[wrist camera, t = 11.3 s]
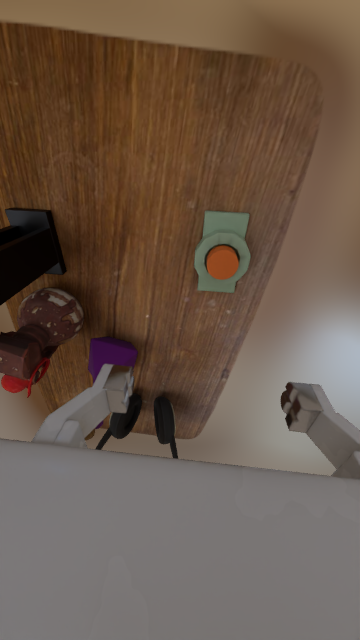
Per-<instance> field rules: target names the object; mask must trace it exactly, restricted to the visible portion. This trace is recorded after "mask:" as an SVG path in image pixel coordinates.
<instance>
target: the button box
mask: <svg viewBox="0 0 360 640" xmlns="http://www.w3.org/2000/svg"><path fill="white" fill-rule="evenodd" d="M248 220H249V214H248V213H238V212H221V211H205V217H204V227H203V238H202V239H201V241H200V242H199V244H198V245H197V247H196V249H195V261H194V267H195V269H196V271H197V273H198V275H199V279H198V290H202V291H216V292H229V293H234V289H235V285H236V281H238V280H239V279H240V278H241V277H242V276H243V274H244V273H245V272H246V271H247V269H248V266H249V261H250V257H251V256H250V252H249V249H248V247H247V244H246V242H245V235H246V230H247V225H248ZM221 245H225V246H229V247H231V248H232V249H233V250H234V251H235V253H236V255H237V258H238V262H239V266H238V269H237V271H236V273H235V274H234V275H233V276H232V277H230V278H228V279H224V280H219V279H216V278H214V277H212V276H211V275H210V274H209V272H208V270H207V256H208V254H209V252H210V251H211V250H212V249H213V248H215V247H217V246H221Z"/></svg>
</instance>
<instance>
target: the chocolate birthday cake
mask: <svg viewBox="0 0 360 640" xmlns="http://www.w3.org/2000/svg"><path fill="white" fill-rule="evenodd" d="M17 320H18V325H19V328H20V329H19V330H18V331H17V332H13V331H12V332H8V333H3V332H1V334H0V373H4V374H5V375H4V376H3V377H2V380H1V384H2V386H3V388H4V389H5V390H7V391H9V392H12V393H17V392H20V391H22V390H23V389H25V388H26V387H27V388H28V397H29V396H30V394H31V385H33V384H36V383H37V382H38V381H39V380H40V379H41V378H42V376H43V375H44V374H45V372H46V371H47V369H48V367H49V364H50V357H51V356H52V354H53V353H54V352H55V351H56V349H57V348H58V346H59V345H61V344H64V343H66V342H68V341H70V340H71V339H73V338H74V337H75V336H76V335H77V334H78V332H79V331H80V329H81V328H82V324H83V321H84V312H83V308H82V306H81V304H80V303H79V301H78V300H77V299H76V298H75V297H74V296H73V295H71V294H70V293H68V292H67V291H64V290H62V289H58V288H43V289H40V290H37V291H35V292H33V293H31V294H30V295H29V296H27V297H26V298H25V299H24V300H23V302H22V303H21V305H20V307H19V309H18V316H17ZM40 367H42V368H43V369H42V371H41V374H40V372H39V371H38V370H39V368H40ZM39 375H40V377H39ZM38 377H39V378H38Z"/></svg>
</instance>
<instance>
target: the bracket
mask: <svg viewBox="0 0 360 640" xmlns="http://www.w3.org/2000/svg"><path fill="white" fill-rule="evenodd" d="M5 211H6V214H7V217H8V220H9V222H10V225H11V226H8V227H5V228H2V229H0V305H2V304H3V303H4V302H6V301H7V300H9V299H10V298H11V297H13V296H14V295H15V294H17V293H18V292H19V291H21V290H22V289H24V288H25V287H26V286H28V285H29V284H30V283H32V282H33V281H34V280H36V279H37V278H39V277H40V276H41V275H43V274H44V273H45V274H59V275H63V274H64V273H65V272H67V270H66V267H65V263H64V259H63V255H62V251H61V248H60V244H59V240H58V236H57V232H56V229H55V225H54V221H53V217H52V213H51V210H39V209H23V208H9V209H5Z"/></svg>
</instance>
